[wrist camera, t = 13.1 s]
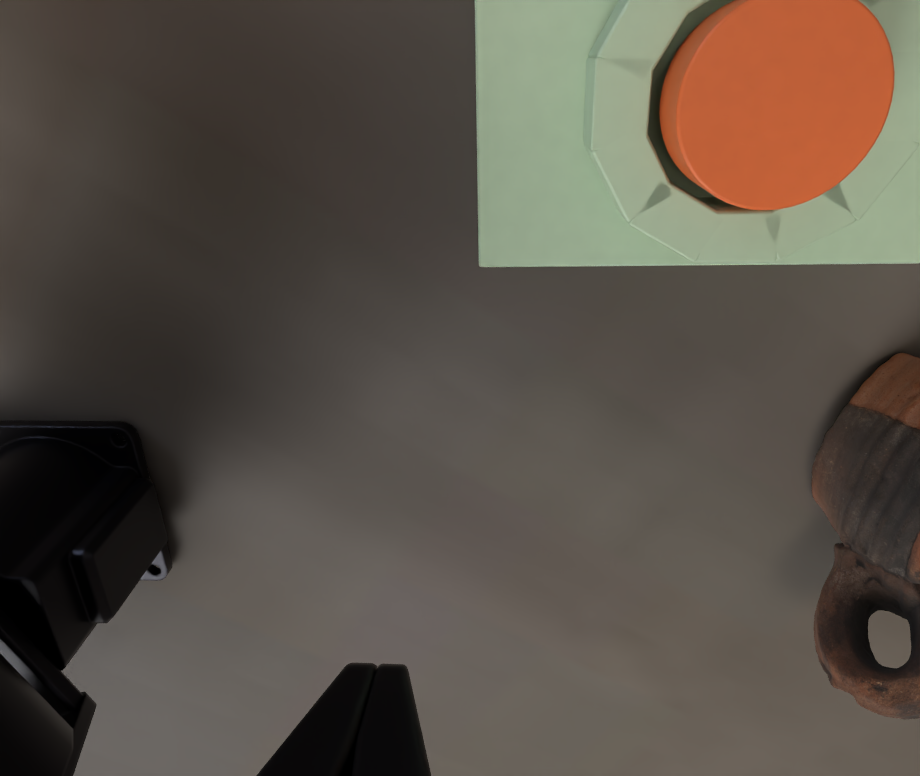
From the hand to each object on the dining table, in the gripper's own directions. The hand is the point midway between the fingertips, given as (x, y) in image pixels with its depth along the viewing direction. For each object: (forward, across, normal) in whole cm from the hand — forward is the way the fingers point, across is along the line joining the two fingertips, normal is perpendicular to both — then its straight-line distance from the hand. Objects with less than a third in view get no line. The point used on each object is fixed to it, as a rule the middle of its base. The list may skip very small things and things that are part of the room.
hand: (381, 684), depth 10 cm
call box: (+13, -7, -7) cm, 16 cm away
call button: (+9, -7, -7) cm, 14 cm away
